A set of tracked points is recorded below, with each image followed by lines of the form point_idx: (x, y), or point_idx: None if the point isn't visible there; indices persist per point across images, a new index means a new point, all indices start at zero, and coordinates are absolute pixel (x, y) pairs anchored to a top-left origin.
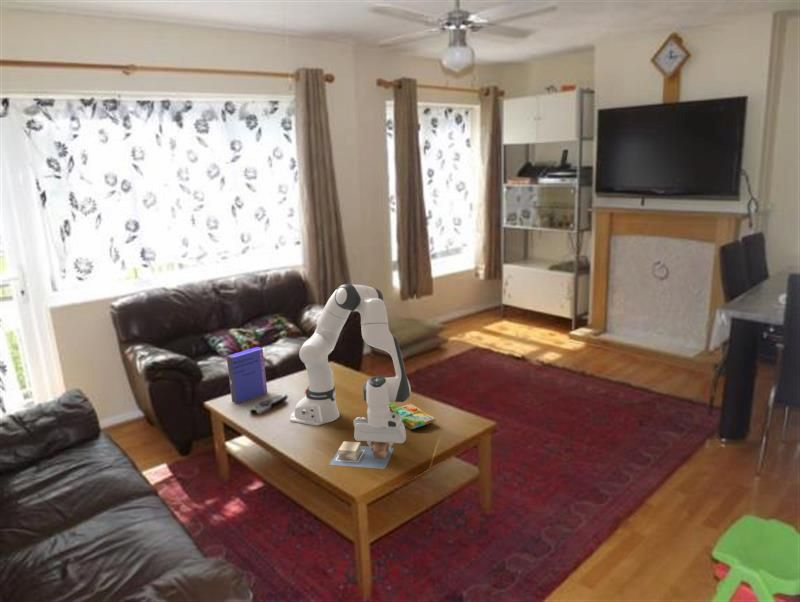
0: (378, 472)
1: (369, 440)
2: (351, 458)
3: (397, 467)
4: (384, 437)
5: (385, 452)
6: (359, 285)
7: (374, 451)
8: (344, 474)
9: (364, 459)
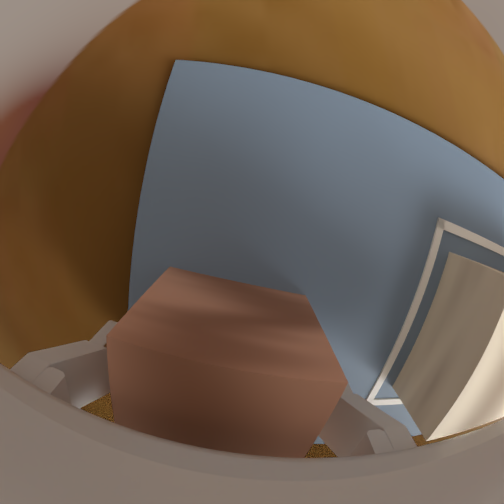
0: (243, 46)
1: (409, 460)
2: (482, 264)
3: (77, 131)
4: (38, 494)
5: (145, 294)
6: None
7: (301, 327)
8: (483, 94)
9: (390, 264)
